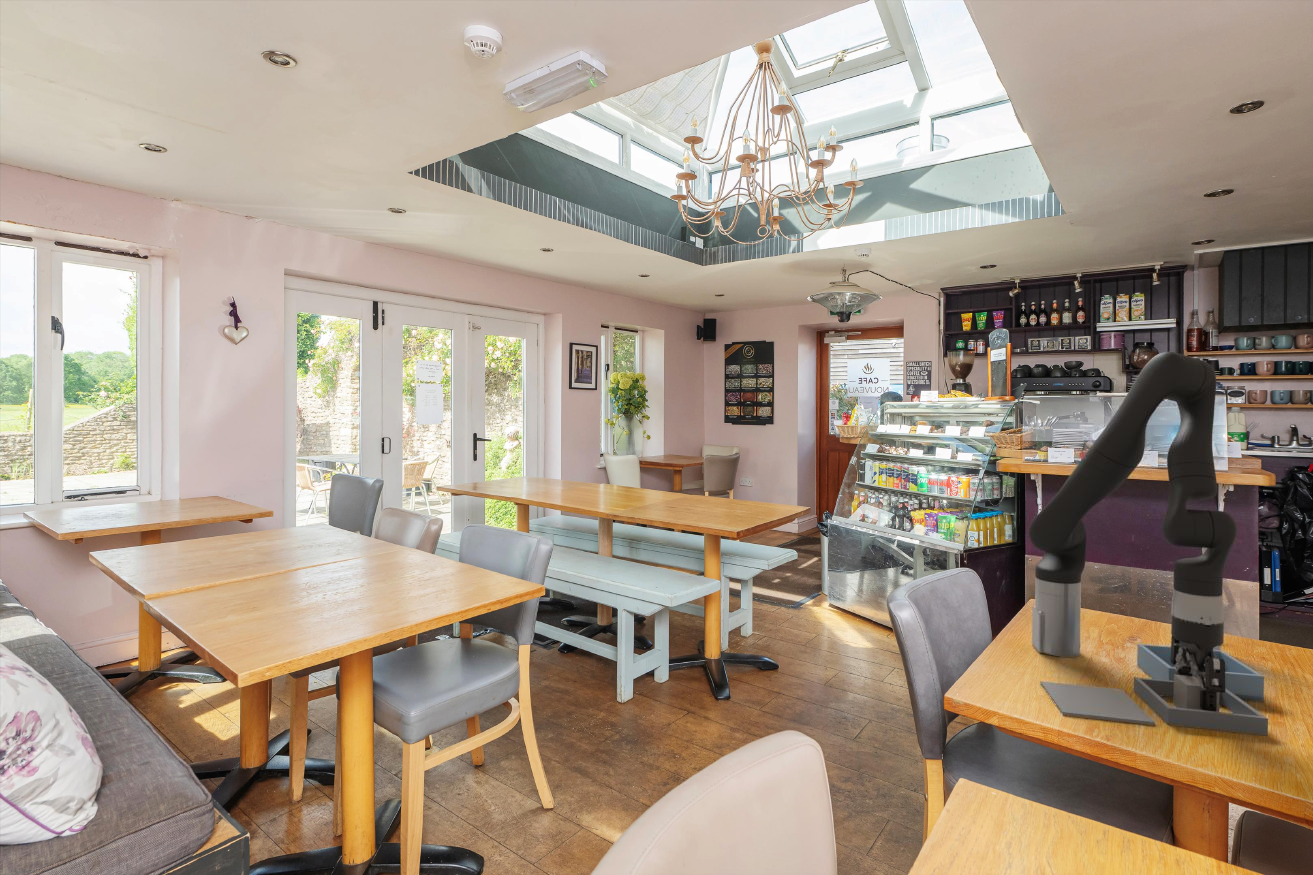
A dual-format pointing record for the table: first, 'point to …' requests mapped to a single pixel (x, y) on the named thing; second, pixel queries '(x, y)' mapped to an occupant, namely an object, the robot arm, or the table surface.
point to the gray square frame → (1238, 721)
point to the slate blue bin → (1236, 673)
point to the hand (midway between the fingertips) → (1195, 700)
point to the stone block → (1188, 693)
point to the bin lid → (1096, 703)
